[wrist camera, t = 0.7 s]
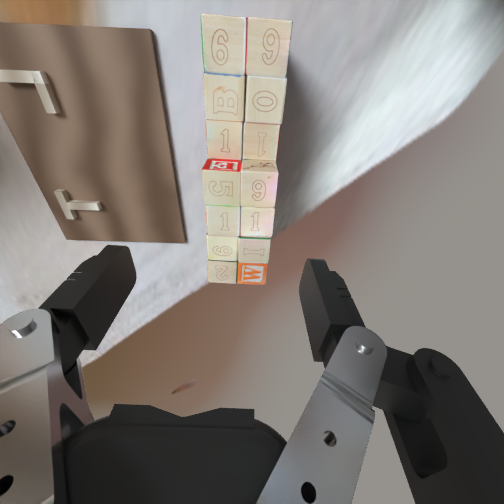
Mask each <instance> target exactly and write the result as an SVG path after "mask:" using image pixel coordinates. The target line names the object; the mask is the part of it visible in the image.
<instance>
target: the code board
mask: <svg viewBox="0 0 504 504" xmlns="http://www.w3.org/2000/svg"><path fill="white" fill-rule="evenodd" d="M0 112H1V114H2V116H3V118H4V120H5V122H6V124H7V126H8V128H9V129H10V131H11V133H12V135H13V137H14V139H15V141H16V143H17V145H18V147H19V149H20V151H21V153H22V155H23V156H24V158H25V160H26V162H27V164H28V166H29V168H30V170H31V172H32V174H33V176H34V178H35V180H36V182H37V183H38V185H39V187H40V189H41V191H42V193H43V195H44V197H45V199H46V201H47V203H48V205H49V207H50V208H51V210H52V212H53V214H54V216H55V218H56V220H57V222H58V224H59V226H60V228H61V230H62V232H63V234H64V235H65V237H66V239H67V240H98V241H132V242H166V243H185V242H186V239H185V233H184V227H183V220H182V214H181V208H180V202H179V196H178V189H177V183H176V177H175V171H174V164H173V158H172V152H171V146H170V139H169V133H168V127H167V121H166V115H165V108H164V102H163V96H162V90H161V83H160V77H159V71H158V65H157V58H156V52H155V46H154V40H153V34H152V30H150V29H137V28H114V27H92V26H69V25H47V24H25V23H2V22H0Z"/></svg>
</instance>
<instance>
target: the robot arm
mask: <svg viewBox="0 0 504 504" xmlns="http://www.w3.org/2000/svg"><path fill="white" fill-rule="evenodd" d="M135 282H136V270H135V267H134V263H133V260H132V256H131V253H130V249H129V248H128V247H127V246H118V245H107V246H106V247H105V248H104V249H103V250H102V251H101V252H100V253H99V254H98V255H97V256H95V255H94V256H93V257H91V258H89V259H88V260H86V261H84V262H82V263H81V264H80V265H79V266H78V268H77V269H76V270H75V271H74V273H72V274H71V275H70V276H69V277H68V278H67V281H66V280H65V281H64V282H63V283H62V284H61V285H60V286H59V287H58V288H57V289H56V290H55V291H54V292H53V293H52V295H51V296H50V297H49V298H48V299H47V300H46V301H45V302H44V303H43V304H42V305H41V306H40V307H39V308H38V309H31V310H27V311H23V312H20V313H18V314H16V315H14V316H12V317H10V318H8V319H7V320H5V321H4V322H3V323H1V324H0V504H351V503H352V500H353V496H354V492H355V489H356V485H357V481H358V477H359V474H360V471H361V467H362V463H363V460H364V456H365V453H366V449H367V445H368V442H369V438H370V434H371V431H372V427H373V423H374V419H375V411H374V410H372V406H374V407H377V408H379V409H382V410H383V412H384V414H385V417H386V420H387V423H388V426H389V429H390V432H391V435H392V437H393V440H394V443H395V446H396V449H397V452H398V455H399V458H400V460H401V463H402V466H403V469H404V472H405V475H406V478H407V480H408V483H409V486H410V489H411V492H412V495H413V498H414V501H415V504H504V433H503V431H502V430H501V428H500V427H499V425H498V424H497V423H496V421H495V420H494V418H493V417H492V415H491V414H490V412H489V411H488V409H487V408H486V406H485V405H484V403H483V402H482V400H481V399H480V397H479V396H478V394H477V393H476V392H475V390H474V388H473V387H472V386H471V384H470V382H469V381H468V380H467V378H466V376H465V375H464V374H463V372H462V371H461V369H460V368H459V367H458V366H457V365H456V363H454V362H453V361H452V360H451V359H450V358H448V357H447V356H445V355H444V354H442V353H440V352H438V351H436V350H432V349H428V348H422V349H419V350H417V351H416V352H415V354H414V355H411V354H408V353H405V352H402V351H399V350H396V349H393V348H390V347H388V346H386V345H385V344H384V342H383V341H382V339H381V338H380V337H379V336H378V335H377V334H376V333H374V332H373V331H371V330H369V329H367V328H366V327H365V325H364V323H363V320H362V318H361V316H360V314H359V312H358V310H357V307H356V306H355V303H354V301H353V299H352V298H351V295H350V293H349V291H348V288H347V286H346V284H345V282H344V280H343V279H342V278H341V277H340V276H339V275H338V274H337V273H336V272H335V271H329V269H328V266H327V264H326V261H325V260H322V259H307V260H306V263H305V266H304V270H303V274H302V277H301V281H300V286H299V294H300V300H301V304H302V309H303V314H304V318H305V323H306V327H307V332H308V336H309V341H310V345H311V350H312V354H313V358H314V361H317V362H323V363H324V367H325V371H324V372H323V374H322V376H321V378H320V380H319V382H318V384H317V386H316V388H315V390H314V392H313V394H312V396H311V398H310V400H309V402H308V404H307V405H306V407H305V409H304V411H303V413H302V415H301V417H300V419H299V421H298V423H297V425H296V427H295V429H294V431H293V433H292V435H291V437H290V439H289V440H288V442H286V441H285V439H284V438H283V437H282V436H281V435H279V434H278V432H276V431H275V430H274V429H273V428H271V427H270V426H268V425H267V424H265V423H263V422H261V421H259V420H256V419H254V409H236V408H218V409H214V410H211V411H207V412H203V413H199V414H195V415H191V416H187V417H180V416H177V415H175V414H172V413H169V412H166V411H164V410H161V409H158V408H156V407H153V406H150V405H127V404H114V407H113V409H112V411H111V414H110V415H109V416H106V417H103V418H100V419H98V420H96V421H94V418H93V415H92V413H91V411H90V408H89V405H88V401H87V396H86V390H85V385H84V378H83V373H82V367H81V361H80V359H79V355H80V354H81V352H82V351H83V350H96V349H97V348H98V346H99V344H100V343H101V341H102V339H103V338H104V336H105V334H106V333H107V331H108V329H109V328H110V326H111V324H112V322H113V321H114V319H115V317H116V316H117V314H118V312H119V311H120V309H121V307H122V306H123V304H124V302H125V301H126V299H127V297H128V295H129V294H130V292H131V290H132V289H133V287H134V285H135Z"/></svg>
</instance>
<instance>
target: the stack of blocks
mask: <svg viewBox="0 0 504 504" xmlns="http://www.w3.org/2000/svg"><path fill="white" fill-rule="evenodd" d="M292 24H293V23H292V21H289V20H279V19H267V18H256V17H247V18H244V17H236V16H225V15H212V14H201V31H202V49H203V64H204V73H203V79H204V97H205V115H206V137H207V152H208V158H209V159H208V160H207V161H206V163H205V164H204V167H203V168H202V177H203V190H204V203H205V205H206V221H207V234H206V240H207V256H208V262H207V263H208V281H209V282H218V283H233V284H235V283H236V282H237V283H239V284H259V285H260V284H261V285H264V284H265V283H266V274H267V267H268V262H269V254H270V244H271V237H272V234H273V225H274V216H275V203H276V194H277V185H278V176H279V173H278V169H277V164H276V158H277V150H278V142H279V134H280V126H281V124H282V120H283V112H284V105H285V96H286V87H287V77H286V73H287V65H288V57H289V49H290V40H291V32H292Z"/></svg>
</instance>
